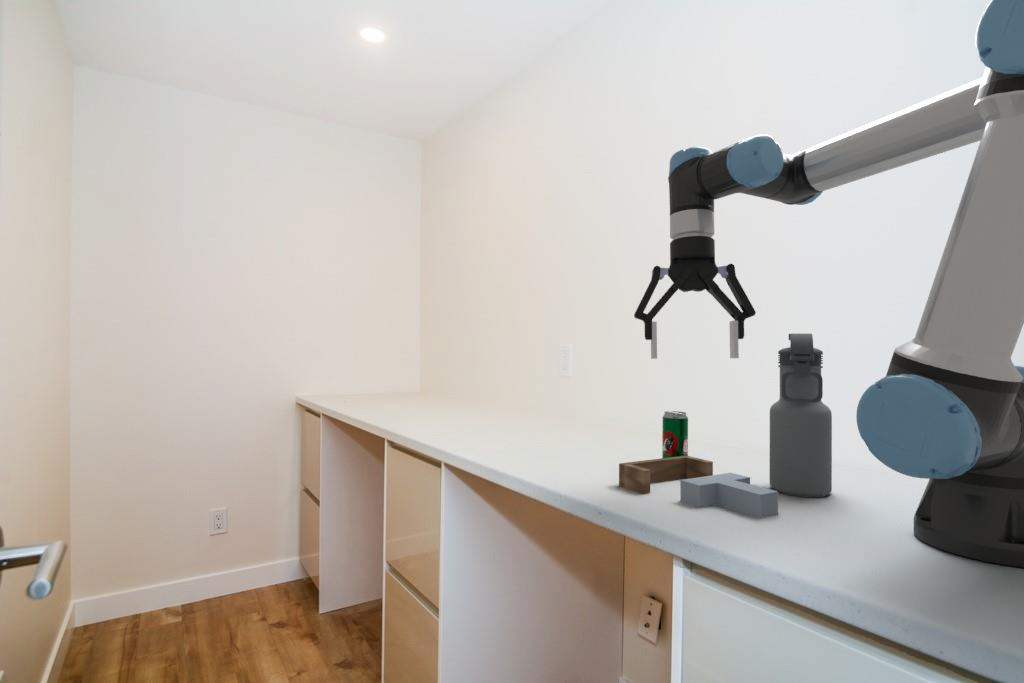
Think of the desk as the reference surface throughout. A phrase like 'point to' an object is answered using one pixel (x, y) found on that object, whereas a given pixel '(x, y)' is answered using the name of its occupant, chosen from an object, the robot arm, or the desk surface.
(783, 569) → the desk surface
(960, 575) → the desk surface
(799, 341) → the water bottle
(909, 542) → the desk surface
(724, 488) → the t block
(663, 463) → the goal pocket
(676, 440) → the soda can
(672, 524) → the desk surface
